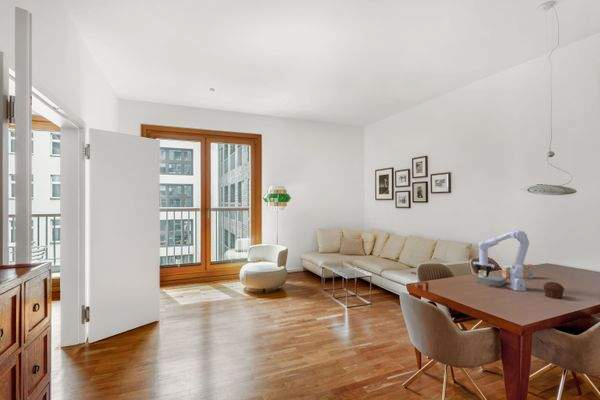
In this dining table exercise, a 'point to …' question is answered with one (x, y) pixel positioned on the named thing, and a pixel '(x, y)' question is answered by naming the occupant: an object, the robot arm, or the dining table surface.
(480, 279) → the base block
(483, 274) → the sage cube
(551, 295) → the muffin
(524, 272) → the stack of blocks
